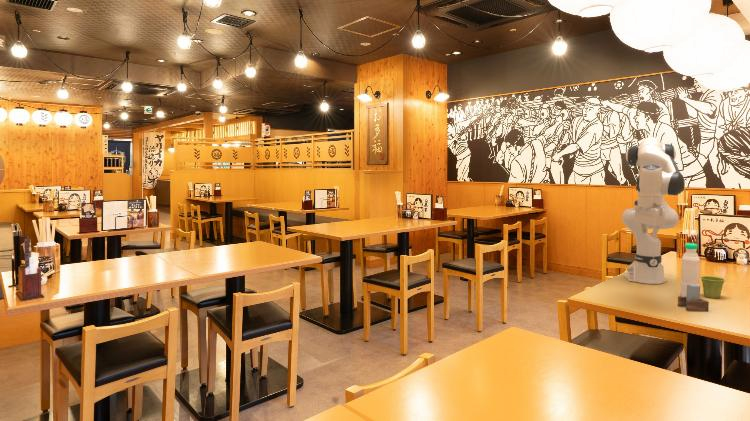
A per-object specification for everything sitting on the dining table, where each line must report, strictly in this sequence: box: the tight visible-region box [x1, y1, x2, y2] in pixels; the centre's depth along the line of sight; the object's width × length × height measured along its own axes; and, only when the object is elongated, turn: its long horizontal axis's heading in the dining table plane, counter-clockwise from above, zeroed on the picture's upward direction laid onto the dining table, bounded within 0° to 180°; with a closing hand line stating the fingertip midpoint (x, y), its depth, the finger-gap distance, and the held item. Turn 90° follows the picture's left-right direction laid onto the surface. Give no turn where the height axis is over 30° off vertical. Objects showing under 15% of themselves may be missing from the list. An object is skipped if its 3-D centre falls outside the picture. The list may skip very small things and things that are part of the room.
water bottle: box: [679, 242, 701, 297], centre depth 219 cm, size 7×7×25 cm
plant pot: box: [700, 275, 726, 299], centre depth 220 cm, size 9×9×9 cm
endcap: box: [677, 296, 710, 312], centre depth 203 cm, size 8×8×4 cm
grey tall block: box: [686, 284, 701, 301], centre depth 202 cm, size 4×4×10 cm
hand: (649, 234), depth 208 cm, fingers open, 8 cm apart
